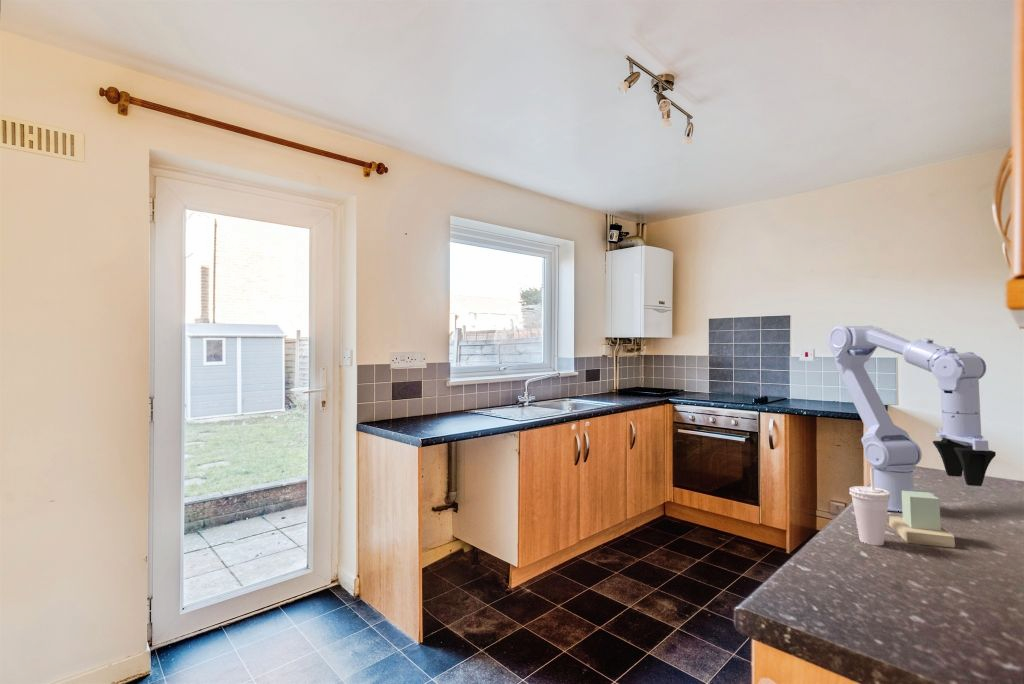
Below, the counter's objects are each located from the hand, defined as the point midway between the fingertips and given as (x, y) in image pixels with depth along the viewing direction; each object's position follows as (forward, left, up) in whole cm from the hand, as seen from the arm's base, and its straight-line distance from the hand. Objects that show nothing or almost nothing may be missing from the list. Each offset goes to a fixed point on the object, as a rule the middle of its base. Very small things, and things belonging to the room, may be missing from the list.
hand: (963, 480), depth 97 cm
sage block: (+7, -9, -8) cm, 14 cm away
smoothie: (+13, -19, -10) cm, 25 cm away
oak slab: (+7, -10, -10) cm, 15 cm away
